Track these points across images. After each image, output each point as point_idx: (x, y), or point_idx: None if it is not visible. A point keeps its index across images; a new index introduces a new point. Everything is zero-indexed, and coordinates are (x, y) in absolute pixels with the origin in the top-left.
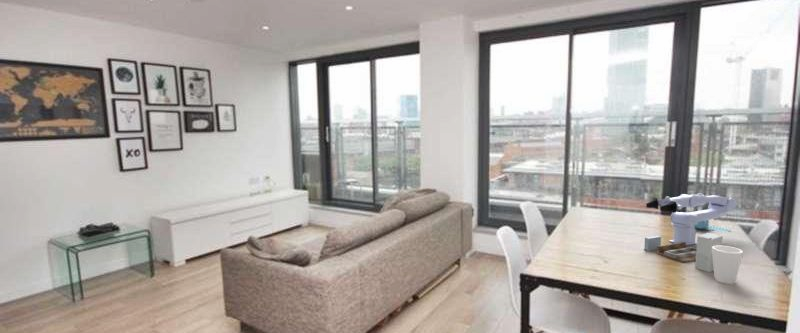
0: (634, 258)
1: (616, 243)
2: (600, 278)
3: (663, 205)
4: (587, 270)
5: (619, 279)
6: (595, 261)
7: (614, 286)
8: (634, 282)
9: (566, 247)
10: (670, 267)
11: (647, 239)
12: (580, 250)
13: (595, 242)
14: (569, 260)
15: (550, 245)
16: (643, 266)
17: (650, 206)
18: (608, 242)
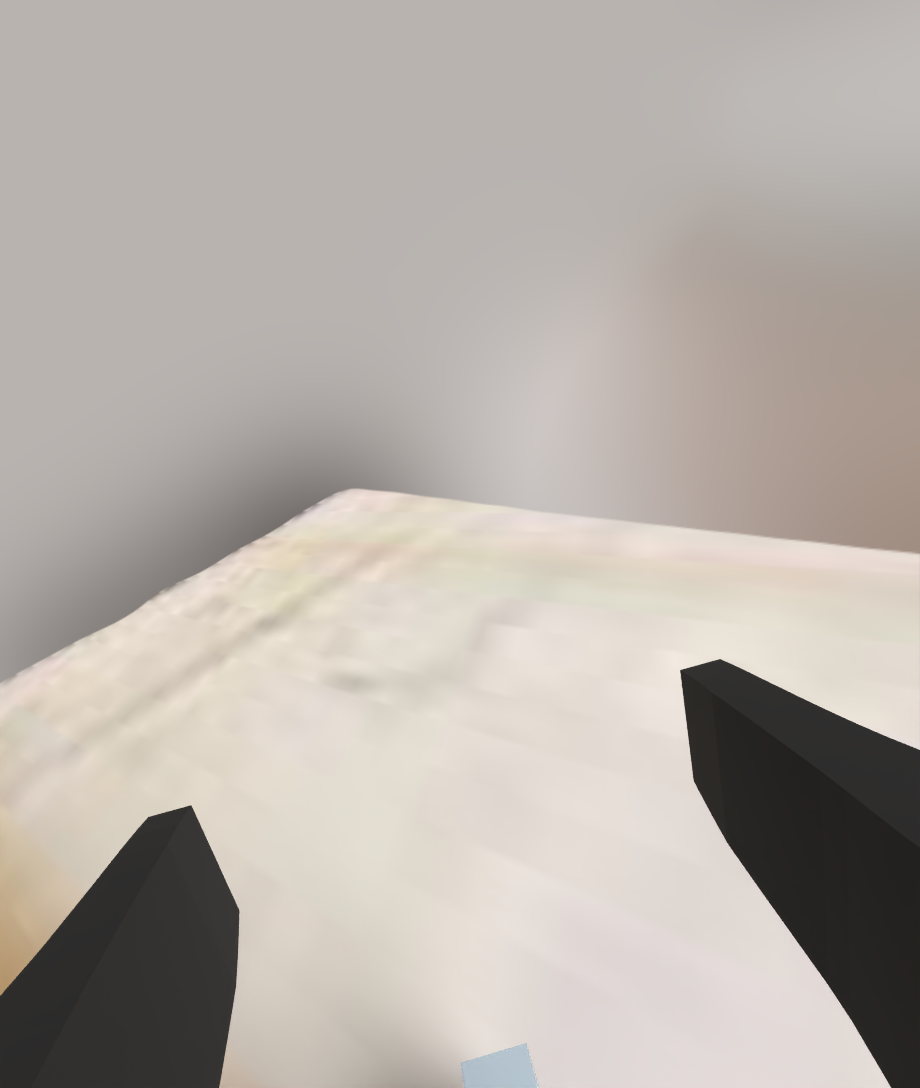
0: (323, 860)
1: None
2: (190, 620)
3: (124, 881)
4: (285, 601)
5: (133, 670)
6: (371, 645)
7: (103, 640)
8: (67, 708)
9: (642, 579)
10: None
11: (482, 1069)
12: (575, 623)
13: None
14: (425, 569)
15: (683, 532)
16: None
17: (762, 859)
18: None
